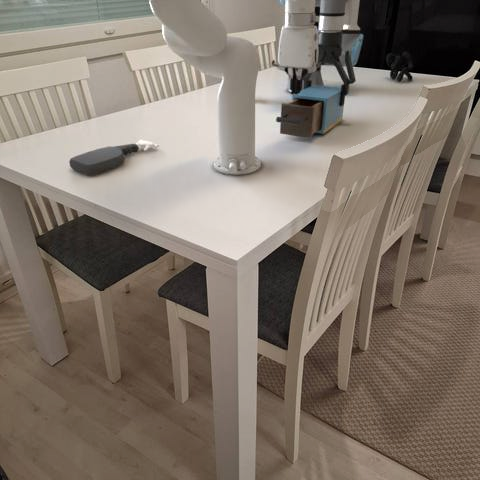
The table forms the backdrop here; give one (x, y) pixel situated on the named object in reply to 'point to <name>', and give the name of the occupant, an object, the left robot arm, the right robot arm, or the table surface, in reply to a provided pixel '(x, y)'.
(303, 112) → the drawer
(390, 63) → the squiggle
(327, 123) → the cabinet
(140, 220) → the table surface
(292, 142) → the table surface
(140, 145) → the spray bottle
